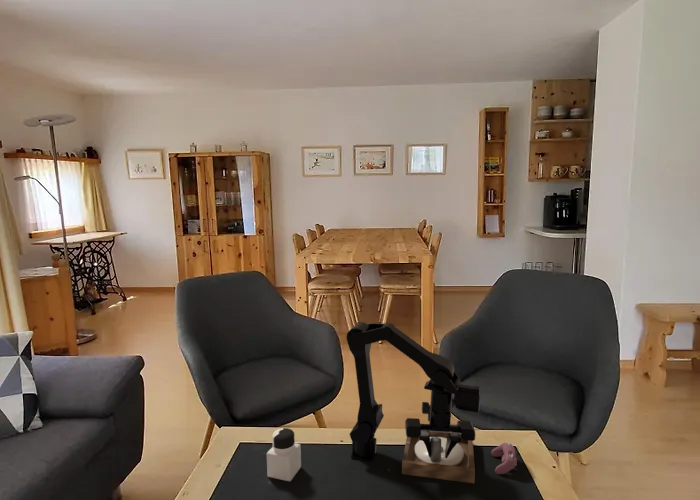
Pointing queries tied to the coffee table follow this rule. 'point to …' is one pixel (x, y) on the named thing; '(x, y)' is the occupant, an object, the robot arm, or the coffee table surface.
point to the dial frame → (454, 473)
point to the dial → (439, 452)
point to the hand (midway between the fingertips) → (437, 457)
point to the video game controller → (505, 457)
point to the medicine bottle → (283, 455)
